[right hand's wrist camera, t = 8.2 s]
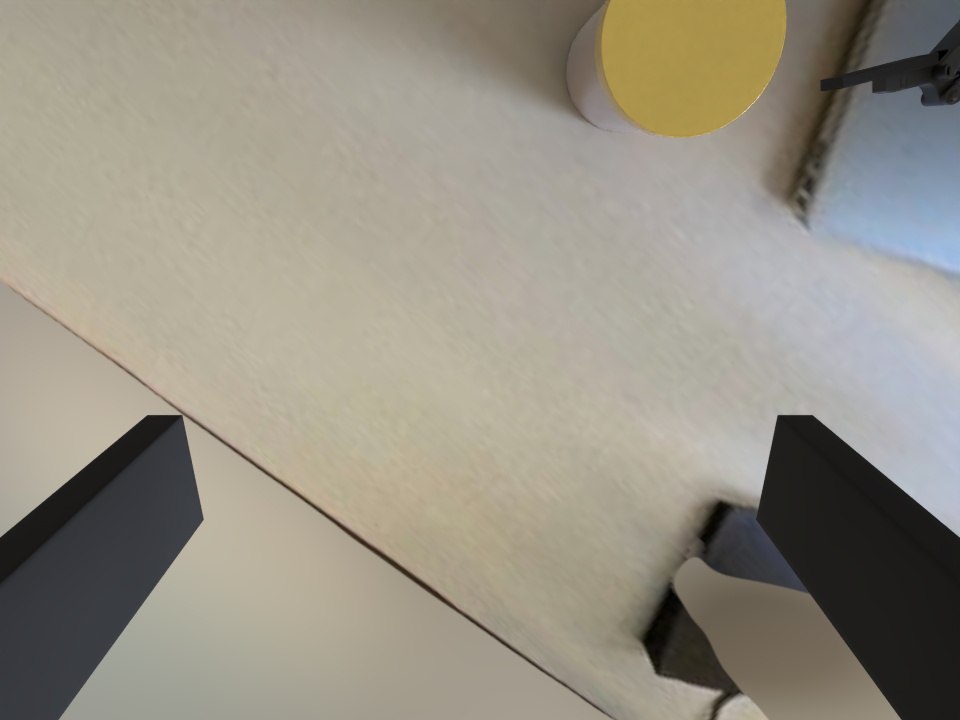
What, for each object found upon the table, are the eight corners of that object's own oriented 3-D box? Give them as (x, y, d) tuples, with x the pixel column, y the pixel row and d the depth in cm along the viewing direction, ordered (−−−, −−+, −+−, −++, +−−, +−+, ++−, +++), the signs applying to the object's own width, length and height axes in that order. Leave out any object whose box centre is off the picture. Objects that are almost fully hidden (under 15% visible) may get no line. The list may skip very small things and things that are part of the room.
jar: (611, -24, 45) (677, -101, 30) (705, 48, 47) (811, 8, 32) (543, 90, 48) (573, 70, 33) (634, 154, 49) (701, 162, 35)
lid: (667, -104, 31) (678, -118, 29) (807, 11, 33) (826, 4, 31) (560, 75, 34) (564, 72, 33) (694, 170, 36) (705, 171, 35)
